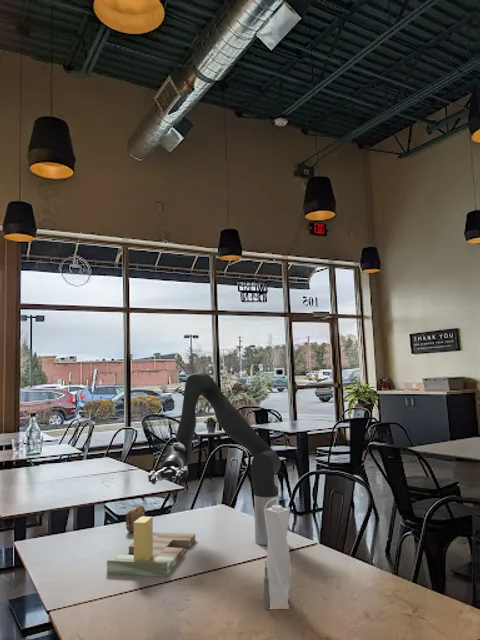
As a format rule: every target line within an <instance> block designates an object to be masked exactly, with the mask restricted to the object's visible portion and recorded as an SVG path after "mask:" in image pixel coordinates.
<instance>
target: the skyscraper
mask: <svg viewBox="0 0 480 640" xmlns="http://www.w3.org/2000/svg"><path fill="white" fill-rule="evenodd" d="M274 499H277V501H276V505H272V507H271V508H268V509H266V506H267V504H268V503H269V502H270V501H272V500H274ZM277 503H278V498H277V497H276V498H272V499H270V500H269V501H268V502H267V504H266V505H265V508H264V514H265V522H266V529H267V536H268V545H266V547H267V548H266V560H265V561H264V564H265V565H264V566H265V567H264V576H263V610H264V609H269V608H270V606H289V607H290V603H289V604H288V601H289V595H290V583H291V557H290V549H289V544H288V539H287V537H288V529H289V523H290V515H291V507H290V506H285V507H283V506H282V505H280V504H279V505H277Z"/></svg>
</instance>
